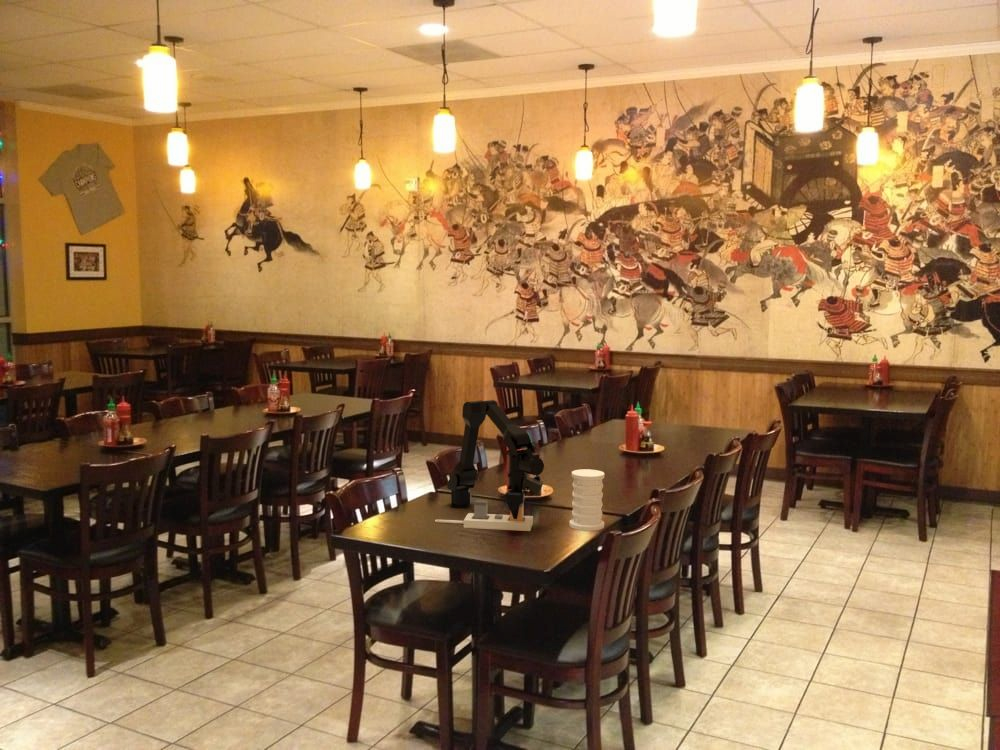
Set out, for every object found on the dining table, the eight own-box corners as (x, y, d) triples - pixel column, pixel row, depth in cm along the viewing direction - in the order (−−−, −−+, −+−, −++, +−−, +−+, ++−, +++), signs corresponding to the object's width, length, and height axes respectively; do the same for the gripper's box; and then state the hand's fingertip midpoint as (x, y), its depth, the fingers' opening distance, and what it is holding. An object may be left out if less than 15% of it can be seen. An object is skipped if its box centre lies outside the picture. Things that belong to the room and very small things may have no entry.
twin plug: (474, 525, 292) (474, 502, 291) (475, 523, 295) (475, 499, 294) (486, 526, 292) (486, 502, 291) (487, 523, 295) (487, 500, 294)
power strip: (432, 526, 291) (432, 516, 291) (437, 518, 300) (437, 509, 300) (530, 531, 287) (530, 521, 287) (532, 523, 296) (533, 513, 295)
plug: (510, 527, 291) (510, 503, 290) (511, 524, 294) (511, 501, 293) (522, 528, 290) (522, 504, 289) (523, 525, 293) (523, 502, 292)
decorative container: (568, 529, 289) (569, 475, 287) (570, 520, 300) (571, 468, 298) (603, 531, 287) (605, 477, 285) (604, 521, 299) (606, 469, 297)
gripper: (539, 477, 280) (538, 525, 281) (544, 464, 298) (543, 509, 300) (504, 475, 281) (503, 523, 283) (511, 463, 299) (510, 508, 301)
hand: (516, 516), depth 292 cm, fingers open, 6 cm apart
